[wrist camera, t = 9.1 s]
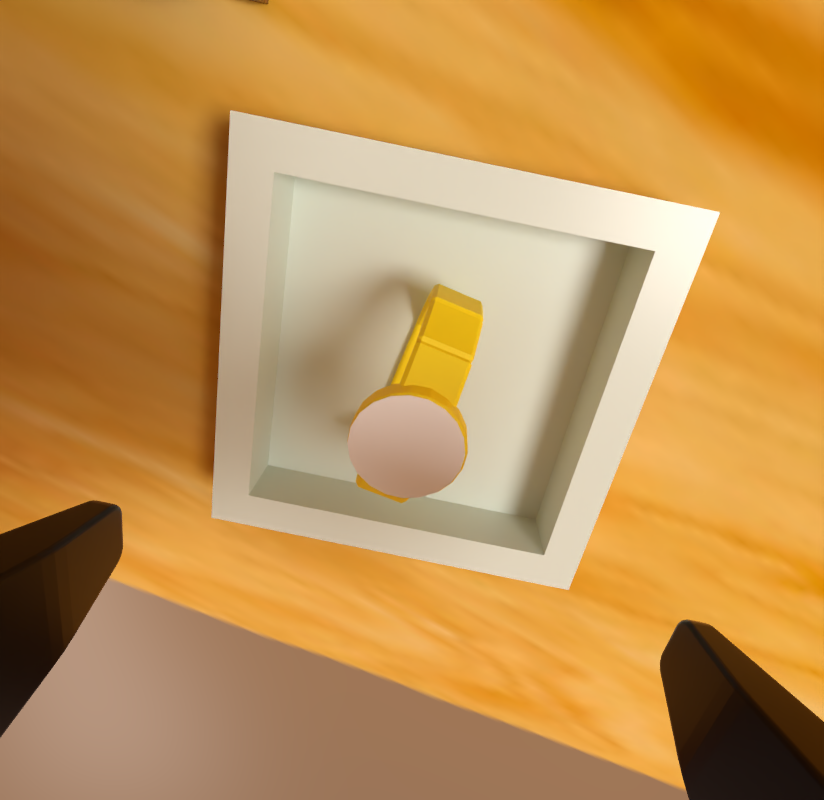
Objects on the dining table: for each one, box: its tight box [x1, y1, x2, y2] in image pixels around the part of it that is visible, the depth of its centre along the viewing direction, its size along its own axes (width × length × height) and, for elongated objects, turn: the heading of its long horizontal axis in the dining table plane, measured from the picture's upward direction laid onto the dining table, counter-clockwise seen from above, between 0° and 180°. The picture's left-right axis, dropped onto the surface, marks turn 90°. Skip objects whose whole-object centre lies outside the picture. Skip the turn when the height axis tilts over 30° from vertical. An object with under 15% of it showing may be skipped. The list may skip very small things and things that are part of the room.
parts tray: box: [212, 110, 720, 590], centre depth 17 cm, size 12×12×2 cm
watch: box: [347, 284, 483, 503], centre depth 15 cm, size 6×3×6 cm, turn 158°
